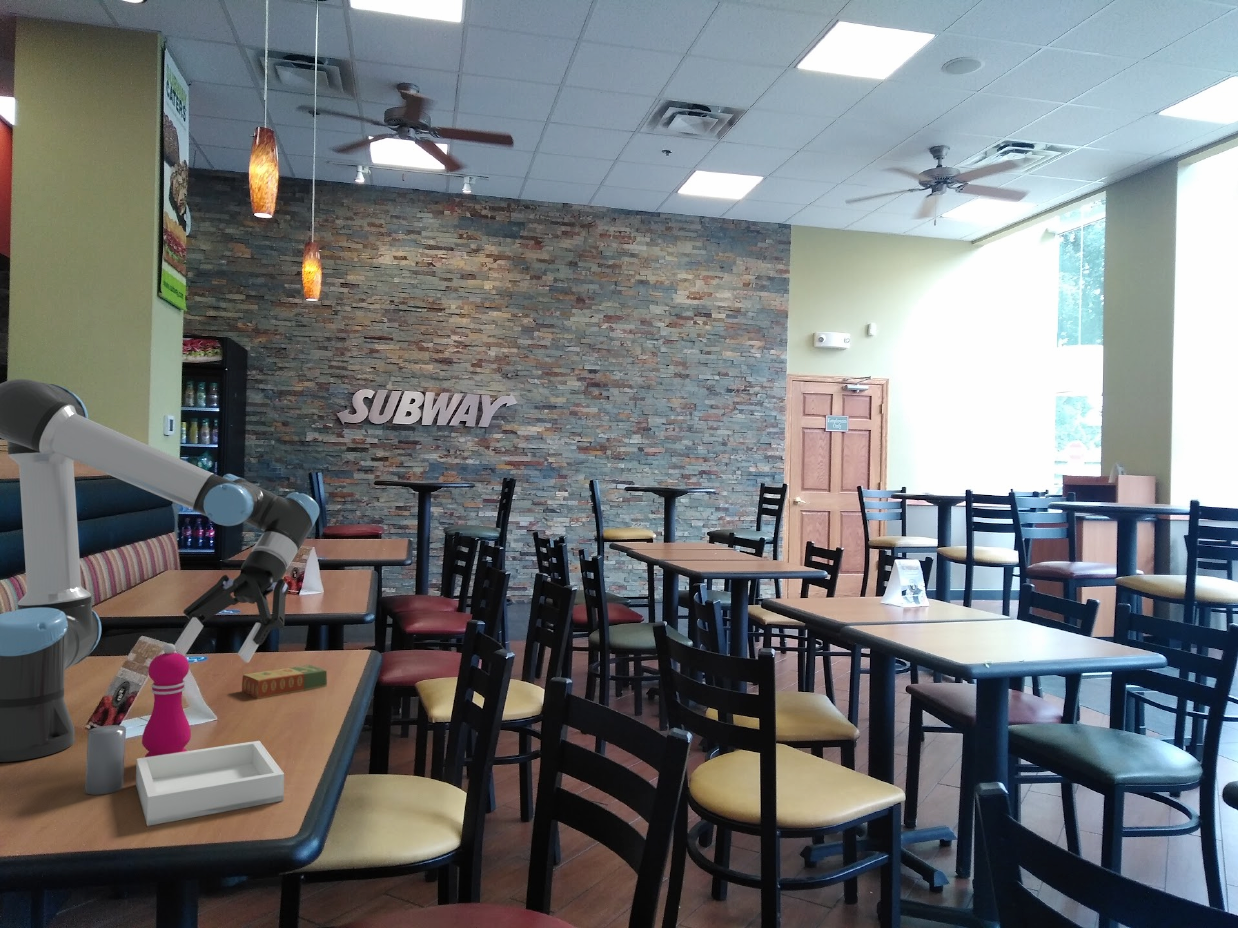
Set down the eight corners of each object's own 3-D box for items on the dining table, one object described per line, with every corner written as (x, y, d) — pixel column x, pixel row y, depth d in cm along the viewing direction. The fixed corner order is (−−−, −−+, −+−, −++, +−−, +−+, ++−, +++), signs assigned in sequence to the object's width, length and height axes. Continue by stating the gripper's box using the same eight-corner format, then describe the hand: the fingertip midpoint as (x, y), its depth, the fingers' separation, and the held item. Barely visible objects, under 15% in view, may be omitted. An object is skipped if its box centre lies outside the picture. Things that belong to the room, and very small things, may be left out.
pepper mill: (175, 771, 138) (179, 648, 138) (131, 770, 138) (135, 647, 138) (198, 756, 145) (202, 640, 145) (156, 755, 145) (160, 638, 145)
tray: (147, 825, 117) (148, 796, 117) (135, 784, 132) (136, 758, 132) (283, 800, 127) (284, 773, 127) (258, 764, 142) (259, 740, 142)
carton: (241, 692, 187) (241, 673, 187) (309, 681, 199) (310, 662, 199) (257, 699, 182) (258, 679, 182) (327, 687, 193) (327, 668, 193)
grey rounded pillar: (85, 796, 126) (88, 736, 126) (84, 785, 131) (87, 727, 131) (124, 791, 129) (127, 732, 129) (122, 780, 133) (125, 723, 133)
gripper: (333, 576, 163) (280, 672, 148) (224, 569, 169) (163, 660, 155) (316, 551, 158) (260, 648, 143) (205, 545, 164) (140, 637, 150)
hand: (210, 655), depth 149 cm, fingers open, 13 cm apart
